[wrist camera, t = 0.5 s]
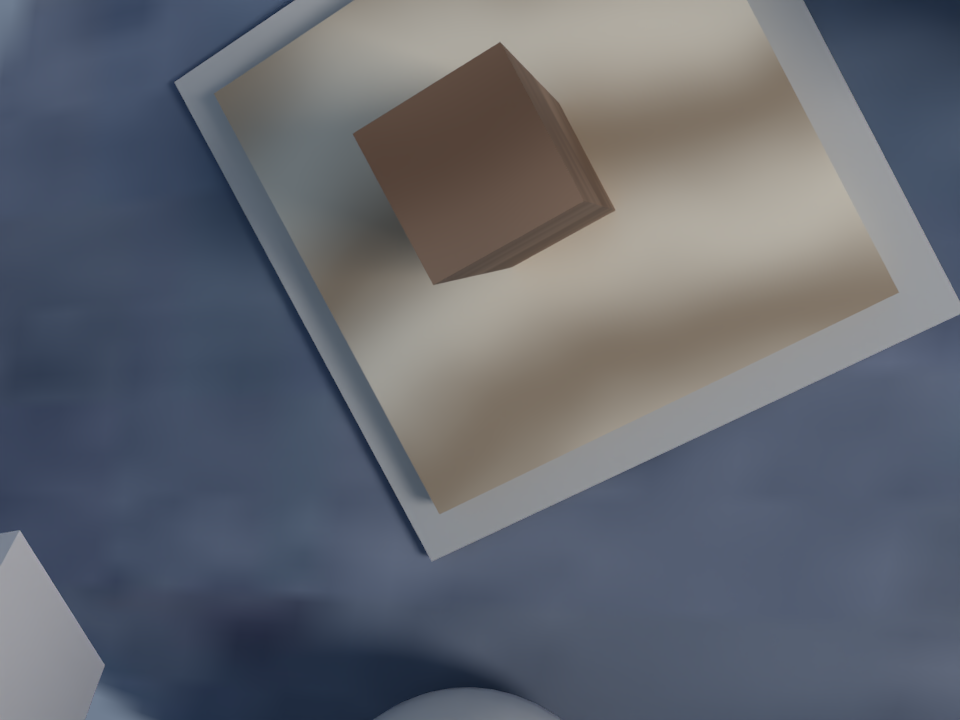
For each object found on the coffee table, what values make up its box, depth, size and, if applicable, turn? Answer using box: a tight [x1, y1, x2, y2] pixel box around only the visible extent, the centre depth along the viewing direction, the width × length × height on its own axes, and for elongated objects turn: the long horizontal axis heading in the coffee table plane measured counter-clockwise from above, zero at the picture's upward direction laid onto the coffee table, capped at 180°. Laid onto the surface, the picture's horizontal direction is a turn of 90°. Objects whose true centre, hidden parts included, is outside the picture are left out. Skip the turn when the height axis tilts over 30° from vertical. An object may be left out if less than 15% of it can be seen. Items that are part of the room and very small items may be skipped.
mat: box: [174, 0, 960, 561], centre depth 29 cm, size 18×18×1 cm
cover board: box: [214, 0, 899, 514], centre depth 23 cm, size 15×15×10 cm
